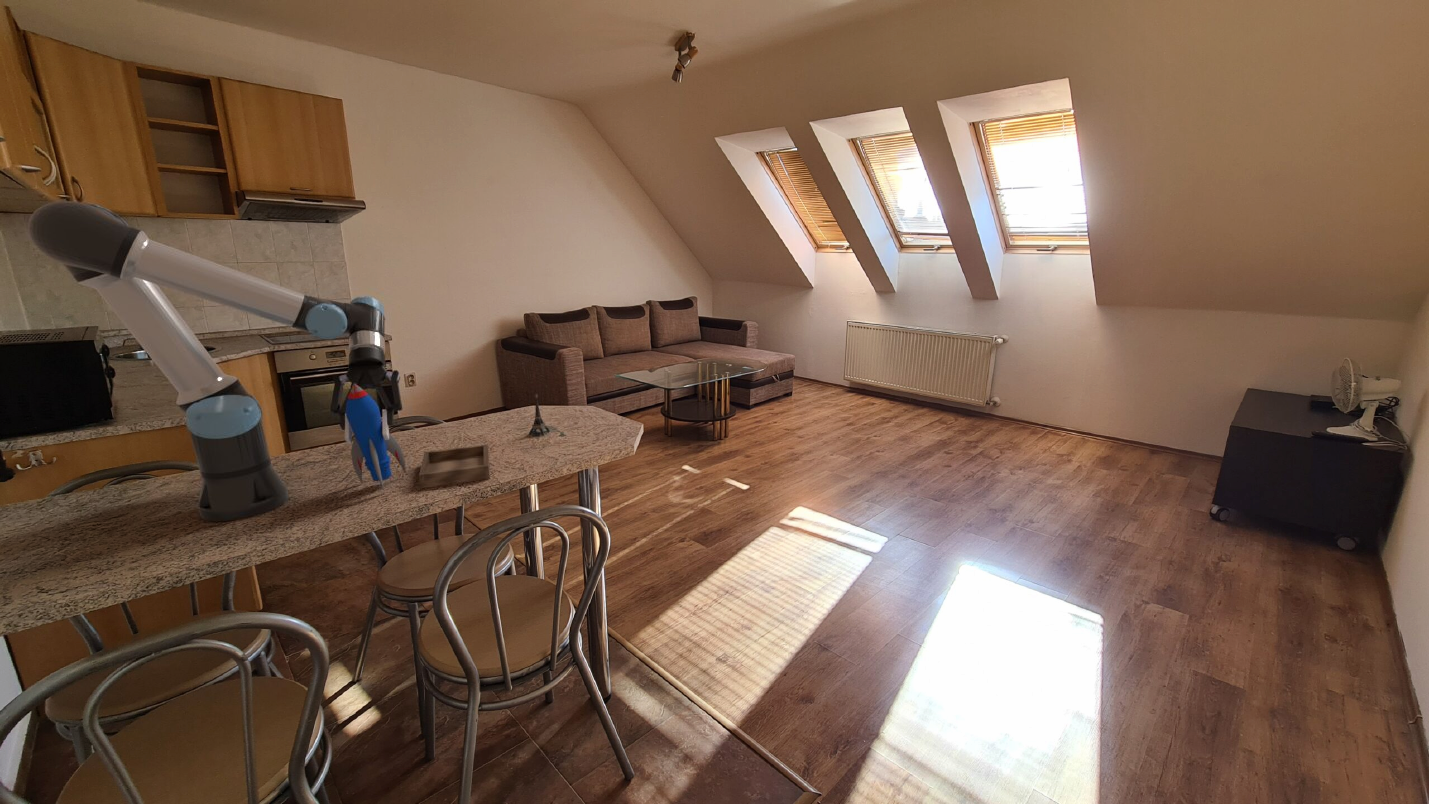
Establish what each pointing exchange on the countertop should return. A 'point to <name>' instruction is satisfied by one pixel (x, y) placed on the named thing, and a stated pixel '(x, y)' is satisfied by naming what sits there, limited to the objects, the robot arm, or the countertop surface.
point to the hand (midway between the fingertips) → (367, 439)
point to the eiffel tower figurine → (540, 425)
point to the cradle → (454, 466)
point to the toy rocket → (370, 437)
